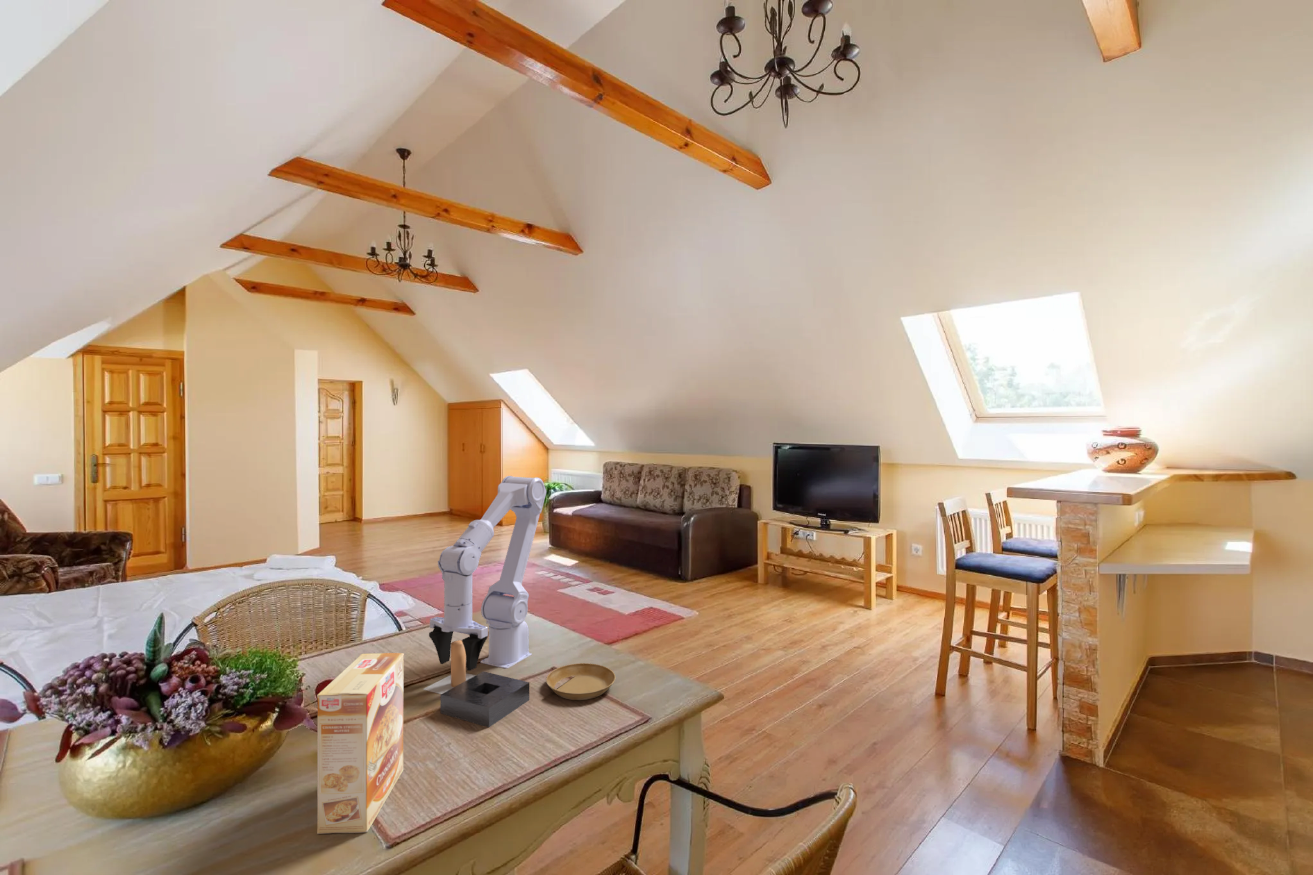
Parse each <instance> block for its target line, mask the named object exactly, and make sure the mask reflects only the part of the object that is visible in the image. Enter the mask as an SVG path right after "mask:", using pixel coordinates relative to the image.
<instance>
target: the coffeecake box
mask: <svg viewBox="0 0 1313 875" xmlns="http://www.w3.org/2000/svg"><path fill="white" fill-rule="evenodd" d="M404 657H405V653H403V652H384V653H383V652H382V653H372V652H371V653H361V654H359V656H358V657H356V658H355V660H354V661H352V662H351V663H350V664H349V665H348V666H347V667H346V668H345V669H344V670H342V671H341V672H340V674H338V675H337V676H336V677H335V678H334V679H333V680H332V681H331V682H330V683H329V684H327V686H325V687H324V688H323V689H322V690H321V691H320V692H319V693H318V694H316V697H317V786H316V787H317V790H316V791H317V796H316V797H317V825H316V828H317V830H316V833H317V835H320V834H322V835H323V834H354V833H355V834H358V833H368V832H369V830H370V828H371V827H372V824H373V823H374V822H375V820H376V818H377V816H378V814H379V813H380V811H381V810H382V808H383V806H384V805H385V802H386V801H387V800H388V797H389V796H390V794H391V792H392V791H393V788H394V787H395V786H396V784H397V782H398V781H399V778H400V777H401V775H402V773H403V771H404V680H405V679H404V676H405V675H404V663H405V662H404V660H405V659H404Z"/></svg>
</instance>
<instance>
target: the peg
mask: <svg viewBox="0 0 1313 875" xmlns="http://www.w3.org/2000/svg"><path fill="white" fill-rule="evenodd" d="M466 671H467V667H466V653H465V648H464V645H463V643H462V639H461V640H460V639H459V640H455V641H451V651H450V675H451V686H452V687H456V686H457V685H459V684H461V683H463V682H465V681H466V673H467V672H466Z"/></svg>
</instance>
